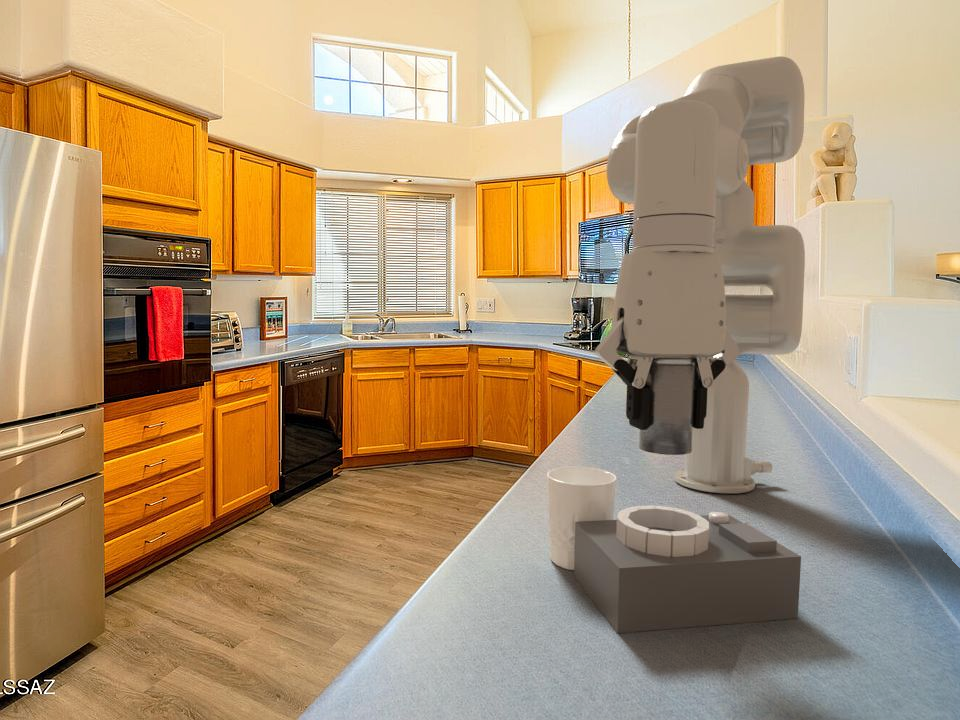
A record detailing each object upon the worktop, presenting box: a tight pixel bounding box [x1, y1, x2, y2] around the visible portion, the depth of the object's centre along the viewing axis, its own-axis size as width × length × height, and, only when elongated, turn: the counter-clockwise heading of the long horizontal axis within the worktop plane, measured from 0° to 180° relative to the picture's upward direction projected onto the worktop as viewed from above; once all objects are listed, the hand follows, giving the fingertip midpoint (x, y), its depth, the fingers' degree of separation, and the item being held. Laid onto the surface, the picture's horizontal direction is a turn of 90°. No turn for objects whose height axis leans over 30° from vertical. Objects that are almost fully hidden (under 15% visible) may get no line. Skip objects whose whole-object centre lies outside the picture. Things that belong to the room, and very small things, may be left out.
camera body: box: [573, 504, 802, 634], centre depth 61 cm, size 18×12×8 cm, turn 100°
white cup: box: [546, 466, 618, 571], centre depth 70 cm, size 8×8×10 cm
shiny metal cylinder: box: [638, 357, 695, 456], centre depth 60 cm, size 5×5×9 cm
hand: (665, 424), depth 60 cm, fingers closed on shiny metal cylinder, 5 cm apart
